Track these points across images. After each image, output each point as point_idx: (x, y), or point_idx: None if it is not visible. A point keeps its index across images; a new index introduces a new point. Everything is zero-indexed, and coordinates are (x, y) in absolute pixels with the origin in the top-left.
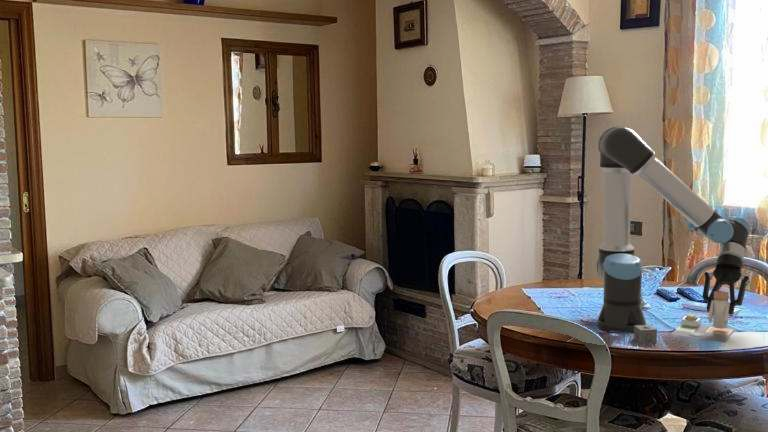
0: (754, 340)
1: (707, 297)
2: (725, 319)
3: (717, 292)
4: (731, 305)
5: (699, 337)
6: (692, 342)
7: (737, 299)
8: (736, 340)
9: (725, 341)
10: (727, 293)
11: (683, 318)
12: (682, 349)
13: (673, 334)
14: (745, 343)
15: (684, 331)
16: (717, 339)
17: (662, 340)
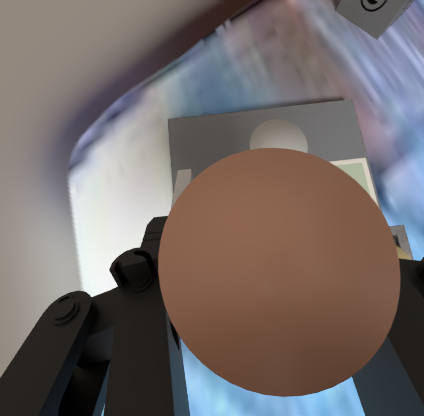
0: (99, 236)
1: (410, 277)
2: (183, 170)
3: (331, 236)
4: (156, 256)
5: (258, 122)
6: (264, 92)
7: (81, 314)
8: (153, 197)
9: (171, 129)
10: (170, 256)
11: (406, 249)
12: (260, 17)
13: (343, 105)
14: (119, 180)
15: (331, 161)
16: (200, 136)
17: (346, 60)
